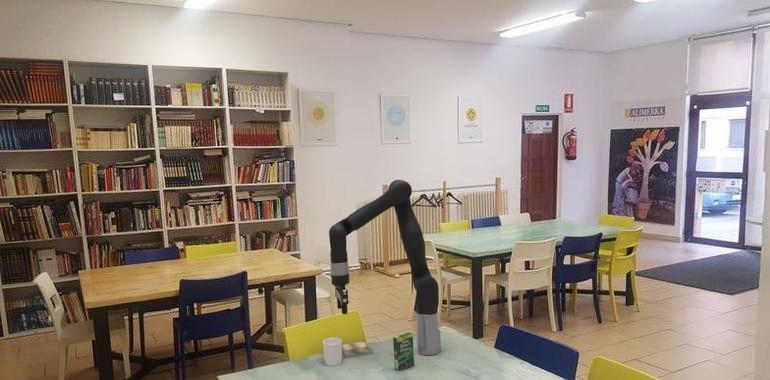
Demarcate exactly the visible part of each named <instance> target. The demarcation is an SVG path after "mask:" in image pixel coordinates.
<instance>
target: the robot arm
mask: <svg viewBox="0 0 770 380" xmlns="http://www.w3.org/2000/svg"><path fill="white" fill-rule="evenodd" d="M412 193H413V189H412V185H411V184H410V183H409V182H407V180H403V179H395V180H392V182H390V184H389V185H388V189H387V190H386V191H385V192H384V193H383V194H382V195H380V196H379V197H377V198H375V199H374V200H372V201H370V202H369V203H367V204H364V205H363V206H361V207H359V208H358V209H356V210H355V211H353V212H352V213H351V214H349V215H348V216H347V217H345V218H344V219H341V220H340V221H337V222H336V223H335V224H333V225H331V227H329V230H328V238H329V246H330V278H331V285H332V286H334V297H335V300H336V306H337V309H339V310H341V314H343V315H347V314H348V305H349V303H350V301H349V294H348V293H349V290H348V289H347V288H346V285H349V284H350V267H349V262H348V261H349V260H348V258H349V257H348V250H347V236H348V235H350V234H351V233H353V232H355V231H358V230H361V228H363V227H364V226H366V225H367V224H368V223H370V222H372V221H373V220H374V219H376V218H377V217H378V216H380V215H382V214H383V213H384V212H386V211H388V210H389V209H391V208H394V211H395V214H396V220H397V225H398V230H399V235H400V239H401V241H402V242H401V243H402V245H403V249H404V252H405V254H406V258H407V261H408V263H409V267H410V269H411V270H410V271H411V278H412V283H413V288H414V290H415V291H416V293H417V302H416V303H417V304H416V306H415V316H416V335H417V336H416V337H417V339H416V341H417V342H416V343H417V353H418V354H419V355H423V356H433V355H437V354H439V353H441V352H442V345H441V330H440V328H439V313H438V312H439V303H440V300H439V299H440V294H439V291H440V289H439V284H438V280H436V279H435V278H434V277H433V276H432V275H431V271H430V270H429V266H428V263H427V257H426V254H427V253H426V242H425V238H424V235H423V231H422V228H421V225H420V222H419V220H418V219H417V216H416V214H415V212H414V209H413V207H412V202H411V196H412Z"/></svg>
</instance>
